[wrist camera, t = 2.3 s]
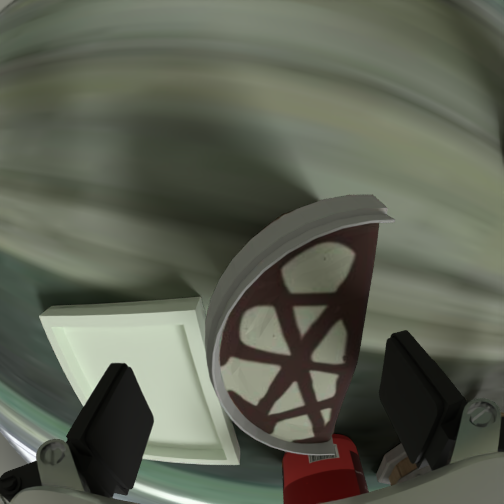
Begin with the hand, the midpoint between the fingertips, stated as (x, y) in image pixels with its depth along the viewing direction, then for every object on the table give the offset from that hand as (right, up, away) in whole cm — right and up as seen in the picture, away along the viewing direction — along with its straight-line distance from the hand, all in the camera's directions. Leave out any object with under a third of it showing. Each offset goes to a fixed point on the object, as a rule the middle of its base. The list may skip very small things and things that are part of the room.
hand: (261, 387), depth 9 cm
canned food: (+7, -16, +16) cm, 24 cm away
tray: (-10, -8, +13) cm, 18 cm away
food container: (+1, +3, +10) cm, 11 cm away
